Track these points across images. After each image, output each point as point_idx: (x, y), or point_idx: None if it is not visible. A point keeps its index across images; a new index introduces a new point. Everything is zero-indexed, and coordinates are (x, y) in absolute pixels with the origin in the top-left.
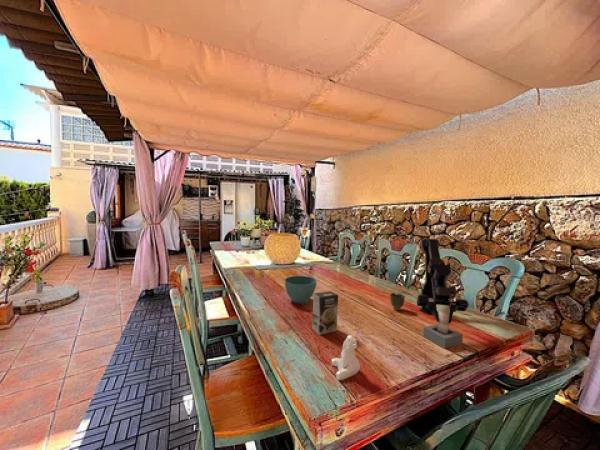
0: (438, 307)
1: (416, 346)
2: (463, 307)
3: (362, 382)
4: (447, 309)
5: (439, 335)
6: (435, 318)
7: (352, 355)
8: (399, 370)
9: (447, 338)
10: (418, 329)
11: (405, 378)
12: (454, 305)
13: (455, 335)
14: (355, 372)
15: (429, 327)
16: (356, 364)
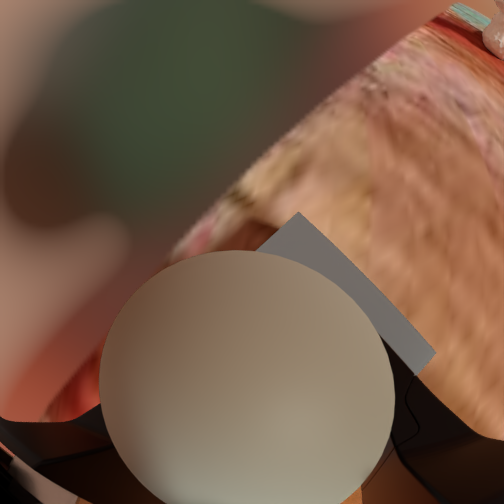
0: (383, 411)
1: (438, 201)
2: (6, 465)
3: (462, 30)
4: (172, 272)
5: (333, 244)
6: None
7: (496, 14)
8: (431, 56)
9: (280, 229)
10: None
11: (408, 39)
12: (11, 430)
13: None
14: (482, 35)
15: None
16: (487, 27)
